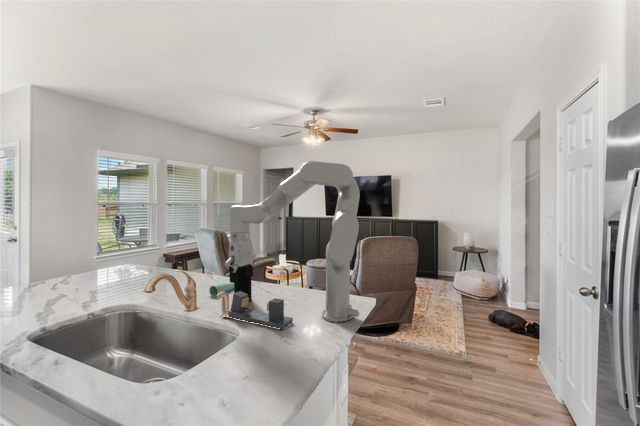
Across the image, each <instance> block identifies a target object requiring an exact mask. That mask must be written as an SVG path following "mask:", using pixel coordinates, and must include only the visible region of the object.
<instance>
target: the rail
mask: <svg viewBox="0 0 640 426" xmlns="http://www.w3.org/2000/svg"><path fill="white" fill-rule="evenodd" d="M284 310H285V299H281V298H273V299H271V300H269V301H268V302H267V303H266V311H267V312H264V311H260V310H254V309H253V308H252V307H248V306H246V308H245V311H243V312H241V313H239V312H234V311H232V310H231V307H230V308H229V311H228V314H229V316H230V317H232V318H236V319H240V320H245V321H248V322H254V323H259V324H263V325H267V326H271V327H276V328H280V329H284V328H285V327H287V326H288V325H289V324H291V323H292V322H293V319H294V318H293V317H289V316H285V311H284ZM292 324H293V323H292ZM292 324H291V325H292ZM289 326H290V325H289ZM289 326H288V327H289ZM288 327H287V328H288ZM285 329H286V328H285ZM285 329H284V330H285Z"/></svg>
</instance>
